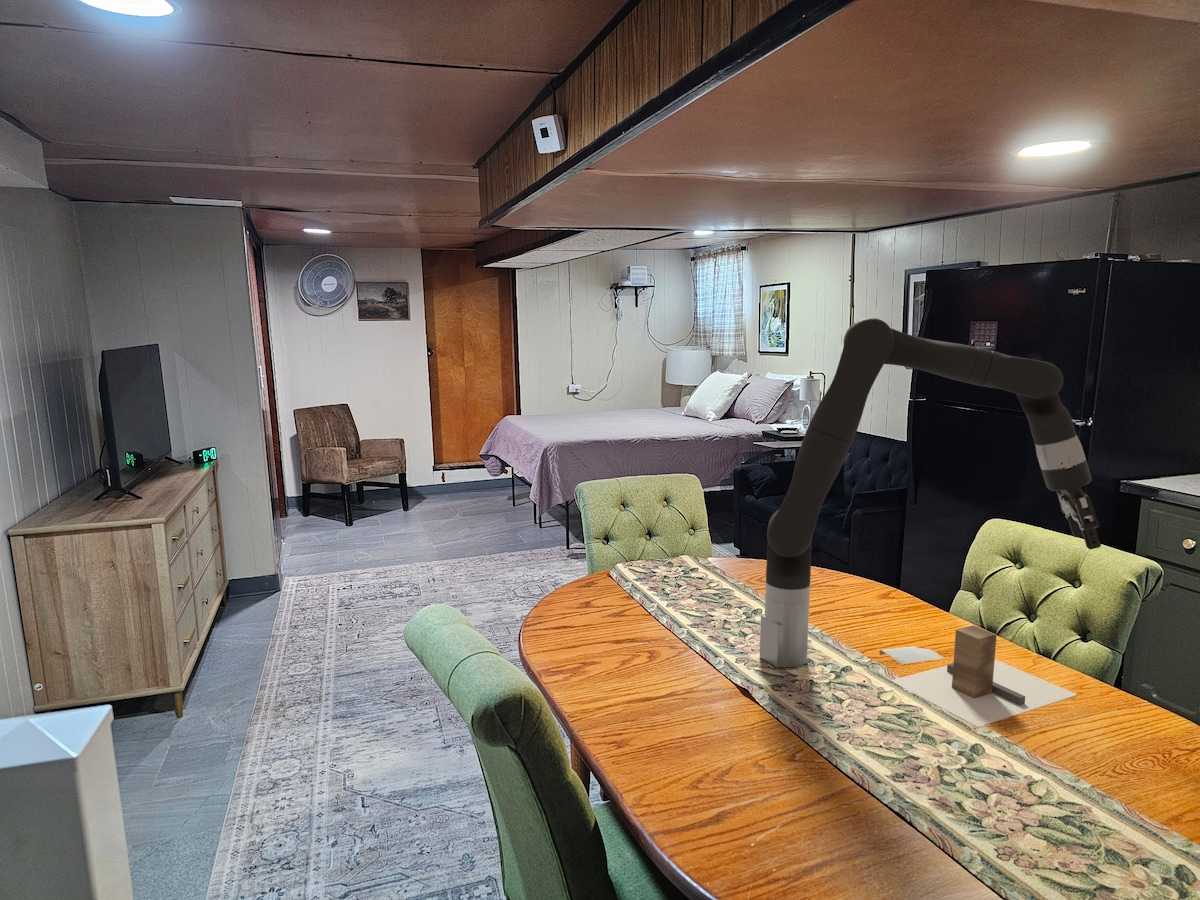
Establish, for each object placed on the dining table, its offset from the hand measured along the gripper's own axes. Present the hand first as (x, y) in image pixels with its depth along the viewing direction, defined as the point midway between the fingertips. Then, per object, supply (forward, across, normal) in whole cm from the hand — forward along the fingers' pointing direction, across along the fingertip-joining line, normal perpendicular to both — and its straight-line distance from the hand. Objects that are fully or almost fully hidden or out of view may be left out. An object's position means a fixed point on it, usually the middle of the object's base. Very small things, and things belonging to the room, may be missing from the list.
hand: (1087, 541), depth 142 cm
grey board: (+23, +6, -26) cm, 35 cm away
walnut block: (+21, +8, -28) cm, 36 cm away
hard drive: (+20, -7, -37) cm, 43 cm away
